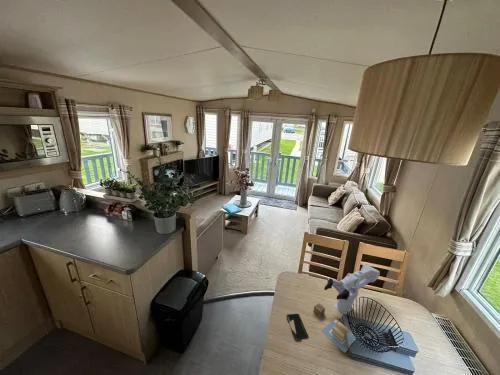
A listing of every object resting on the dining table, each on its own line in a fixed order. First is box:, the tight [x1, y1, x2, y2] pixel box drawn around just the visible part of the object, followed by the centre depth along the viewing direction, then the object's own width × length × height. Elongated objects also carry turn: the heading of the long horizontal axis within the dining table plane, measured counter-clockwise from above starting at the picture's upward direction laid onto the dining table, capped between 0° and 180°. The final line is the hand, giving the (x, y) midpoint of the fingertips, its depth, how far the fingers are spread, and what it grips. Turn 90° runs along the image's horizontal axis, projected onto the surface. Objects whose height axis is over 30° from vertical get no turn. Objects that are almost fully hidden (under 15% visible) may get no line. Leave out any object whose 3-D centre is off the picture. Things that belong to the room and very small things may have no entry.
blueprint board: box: [320, 318, 349, 354], centre depth 115 cm, size 14×14×1 cm
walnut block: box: [313, 302, 326, 318], centre depth 127 cm, size 4×4×4 cm
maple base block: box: [332, 321, 350, 342], centre depth 114 cm, size 6×6×4 cm
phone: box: [286, 313, 309, 342], centre depth 118 cm, size 8×1×15 cm
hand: (331, 292), depth 114 cm, fingers open, 7 cm apart
